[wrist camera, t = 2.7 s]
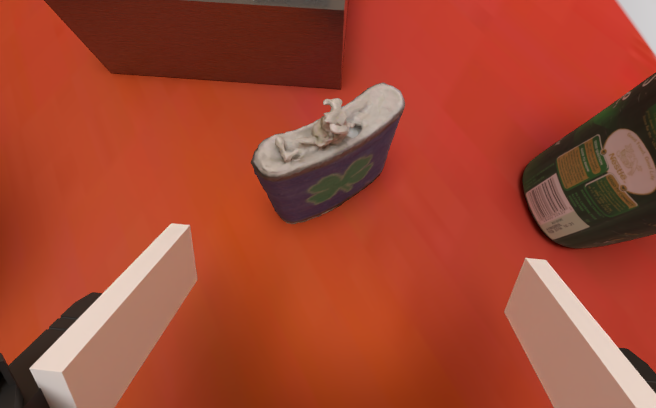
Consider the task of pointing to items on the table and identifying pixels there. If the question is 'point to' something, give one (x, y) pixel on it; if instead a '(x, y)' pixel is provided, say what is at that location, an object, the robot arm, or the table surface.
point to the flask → (329, 155)
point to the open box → (215, 38)
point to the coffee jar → (599, 176)
